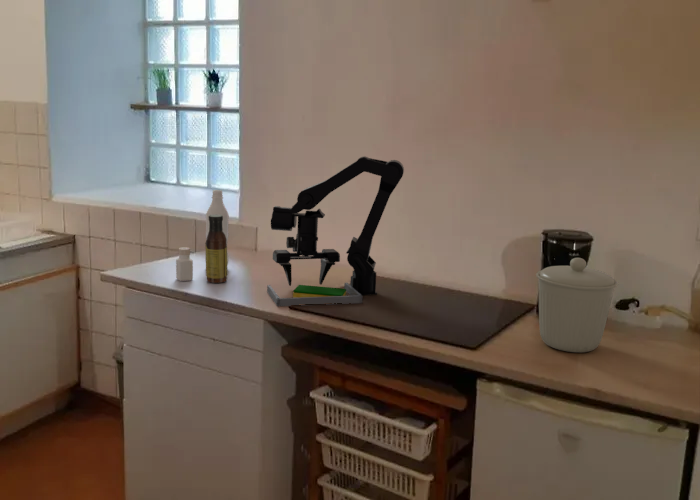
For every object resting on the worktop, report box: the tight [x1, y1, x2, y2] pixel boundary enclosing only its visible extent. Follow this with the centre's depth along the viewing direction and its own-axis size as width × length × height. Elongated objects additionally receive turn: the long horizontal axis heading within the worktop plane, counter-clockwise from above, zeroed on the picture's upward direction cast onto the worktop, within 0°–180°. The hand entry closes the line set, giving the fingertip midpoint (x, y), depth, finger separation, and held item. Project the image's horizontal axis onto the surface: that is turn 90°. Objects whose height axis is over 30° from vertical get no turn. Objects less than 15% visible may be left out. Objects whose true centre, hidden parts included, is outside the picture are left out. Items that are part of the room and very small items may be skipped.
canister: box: [535, 257, 619, 354], centre depth 166 cm, size 18×18×21 cm
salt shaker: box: [175, 246, 194, 282], centre depth 211 cm, size 4×4×10 cm
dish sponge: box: [292, 284, 347, 298], centre depth 201 cm, size 7×14×2 cm, turn 80°
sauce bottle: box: [204, 214, 228, 284], centre depth 210 cm, size 6×6×20 cm
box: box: [266, 282, 364, 307], centre depth 199 cm, size 24×15×2 cm, turn 107°
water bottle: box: [204, 189, 230, 266], centre depth 225 cm, size 7×7×25 cm
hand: (305, 284), depth 208 cm, fingers open, 9 cm apart
